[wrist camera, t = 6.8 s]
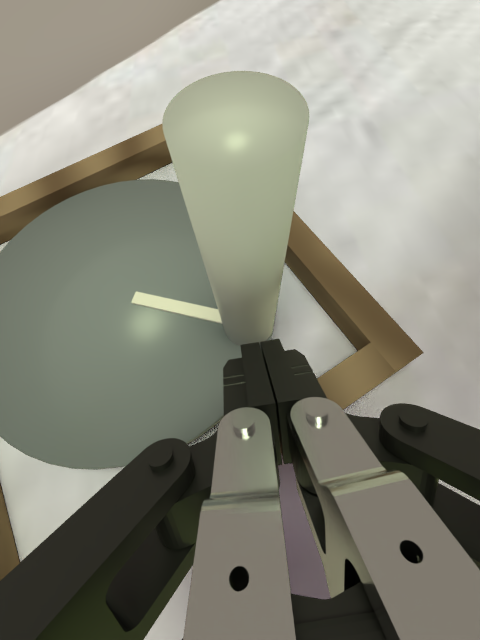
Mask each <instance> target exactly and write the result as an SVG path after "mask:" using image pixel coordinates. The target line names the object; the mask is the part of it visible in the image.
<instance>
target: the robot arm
mask: <svg viewBox="0 0 480 640" xmlns="http://www.w3.org/2000/svg"><path fill="white" fill-rule="evenodd" d="M240 346H241V354H242V358H236V359H229V360H228V361H227V363H226V364H225V366H224V367H223V386H224V387H223V402H224V417H223V418H222V420H221V421H220V423H219V426H218V430H217V431H216V433H214V434H213V435H212V436H211V437H209V438H208V439H206V440H204V441H202V442H199V443H197V444H195V445H193V446H190V447H189V446H188V445H187V444H186V442H184V441H183V440H180V439H177V438H166V439H162V440H159V441H157V442H155V443H153V444H151V445H149V446H148V447H147V448H145V449H144V450H143V451H142V452H141V453H140V454H139V455H138V456H136V457H135V458H134V459H133V460H132V461H131V462H130V463H129V464H128V465H127V466H126V467H124V468H123V469H122V470H121V471H120V472H119V473H118V474H117V475H116V476H115V477H113V478H112V479H111V480H110V481H109V482H108V483H107V484H106V485H105V486H104V487H103V488H101V489H100V490H99V491H98V492H97V493H96V494H95V495H94V496H93V497H92V498H90V499H89V500H88V501H87V502H86V503H85V504H84V505H83V506H82V507H81V508H80V509H78V510H77V511H76V512H75V513H74V514H73V515H72V516H71V517H70V518H69V519H67V520H66V521H65V522H64V523H63V524H62V525H61V526H60V527H59V528H58V529H56V530H55V531H54V532H53V533H52V534H51V535H50V536H49V537H48V538H47V539H46V540H44V541H43V542H42V543H41V544H40V545H39V546H38V547H37V548H36V549H35V550H33V551H32V552H31V553H30V554H29V555H28V556H27V557H26V558H25V559H24V560H23V561H21V562H20V563H19V564H18V565H17V566H16V567H15V568H14V569H13V570H12V571H10V572H9V573H8V574H7V575H6V576H5V577H4V578H3V579H2V580H1V581H0V640H144V638H145V636H146V635H147V633H148V632H149V630H150V629H151V627H152V626H153V624H154V623H155V621H156V620H157V618H158V617H159V615H160V614H161V612H162V611H163V609H164V608H165V606H166V605H167V603H168V602H169V600H170V598H171V597H172V595H173V594H174V592H175V591H176V589H177V588H178V586H179V585H180V583H181V582H182V580H183V579H184V577H185V576H186V574H187V573H188V571H189V570H190V568H191V567H192V565H193V571H192V578H191V585H190V593H189V600H188V607H187V615H186V622H185V629H184V637H183V639H182V640H480V505H478V504H476V503H474V502H472V501H470V500H468V499H467V498H465V497H463V496H461V495H459V494H457V493H456V492H454V491H452V490H450V489H448V488H446V487H445V486H443V485H441V484H439V483H438V481H439V479H440V480H442V481H444V482H445V483H447V484H449V485H451V486H453V487H455V488H457V489H459V490H460V491H462V492H464V493H466V494H468V495H470V496H472V497H474V498H475V499H477V500H479V501H480V430H479V429H477V428H474V427H471V426H469V425H466V424H464V423H461V422H459V421H456V420H453V419H451V418H448V417H446V416H443V415H441V414H438V413H436V412H433V411H430V410H428V409H425V408H423V407H420V406H416V405H412V404H393V405H390V406H388V407H386V408H385V409H384V410H383V411H382V412H381V415H380V418H370V417H359V416H353V415H349V414H347V413H345V412H344V411H343V409H342V408H341V407H340V406H339V405H338V404H337V403H335V402H333V401H331V400H329V399H328V398H327V397H326V395H325V393H324V391H323V389H322V387H321V386H320V384H319V382H318V380H317V378H316V376H315V374H314V373H313V371H312V369H311V367H310V366H309V363H308V361H307V360H306V358H305V356H304V355H303V354H301V353H300V352H298V351H297V350H295V349H294V350H287V351H284V349H283V347H282V344H281V342H280V340H279V339H275V340H268V341H261V342H260V344H259V342H255V343H249V344H242V345H240ZM260 347H261V348H260ZM280 448H281V450H280ZM281 452H282V456H283V461H284V464H288V463H293V467H294V471H295V474H296V486H297V490H298V493H299V496H300V499H301V502H302V505H303V508H304V511H305V514H306V516H307V519H308V522H309V525H310V528H311V531H312V534H313V537H314V539H315V542H316V545H317V548H318V551H319V554H320V557H321V560H322V563H323V567H324V570H325V575H326V580H327V584H328V589H329V593H330V596H331V599H326V600H324V599H317V598H311V597H306V596H300V595H295V594H291V589H290V580H289V572H288V564H287V556H286V547H285V539H284V531H283V522H282V514H281V506H280V497H279V487H280V478H279V470H278V465H282V459H281Z"/></svg>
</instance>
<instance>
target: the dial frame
mask: <svg viewBox="0 0 480 640" xmlns="http://www.w3.org/2000/svg"><path fill="white" fill-rule="evenodd" d="M171 162H172V159H171V156H170V152H169V149H168V146H167V143H166V139H165V136H164V133H163V124H161V125H159V126H156V127H154V128H152V129H150V130H147V131H145V132H143V133H141V134H139V135H136V136H134V137H132V138H130V139H128V140H125V141H123V142H121V143H119V144H116V145H114V146H112V147H110V148H108V149H105V150H103V151H101V152H99V153H97V154H94V155H92V156H90V157H88V158H85V159H83V160H81V161H79V162H77V163H74V164H72V165H70V166H68V167H66V168H63V169H61V170H59V171H57V172H54V173H52V174H50V175H48V176H46V177H43V178H41V179H39V180H37V181H35V182H32V183H30V184H28V185H26V186H23V187H21V188H19V189H17V190H15V191H12V192H10V193H8V194H6V195H4V196H1V197H0V244H2V243H4V242H6V241H8V240H10V239H12V238H13V237H15V236H16V235H17V234H18V233H19V232H20V231H21V230H22V229H23V228H24V227H25V226H26V225H28V224H29V223H30V222H32V221H33V220H34V219H35V218H37V217H38V216H39V215H41V214H42V213H44V212H45V211H47V210H48V209H50V208H52V207H53V206H55V205H57V204H59V203H60V202H62V201H64V200H66V199H68V198H70V197H72V196H75V195H77V194H79V193H82V192H84V191H87V190H90V189H93V188H96V187H99V186H103V185H107V184H112V183H116V182H122V181H130V180H136V179H138V178H140V177H142V176H144V175H146V174H148V173H151V172H153V171H155V170H157V169H159V168H161V167H163V166H165V165H167V164H169V163H171ZM285 263H286V264H287V265H288V266H289V268H290V269H291V270H292V271H293V272H294V274H295V275H296V276H297V277H298V279H299V280H300V281H301V282H302V283H303V285H304V286H305V287H306V288H307V289H308V291H309V292H310V293H311V294H312V296H313V297H314V298H315V299H316V300H317V302H318V303H319V304H320V305H321V306H322V308H323V309H324V310H325V311H326V312H327V314H328V315H329V316H330V317H331V319H332V320H333V321H334V322H335V323H336V325H337V326H338V327H339V328H340V329H341V331H342V332H343V333H344V334H345V336H346V337H347V338H348V339H349V340H350V342H351V343H352V344H353V345H354V346H355V348H356V349H357V350H358V351H357V352H356V353H354V354H353V355H351V356H350V357H348V358H347V359H346V360H344V361H343V362H341V363H340V364H338V365H337V366H335V367H334V368H332V369H331V370H329V371H328V372H326V373H325V374H323V375H322V376H320V377H319V378H317V380H318V382H319V384H320V386H321V387H322V389H323V391H324V393H325V395H326V397H327V398H328V399H329V400H331V401H333V402H335V403H337V404H338V405H339V406H340V407H341V408H342V409H345V408H346V407H348V406H349V405H350V404H352V403H353V402H355V401H356V400H357V399H359V398H360V397H362V396H363V395H365V394H366V393H367V392H369V391H370V390H372V389H373V388H374V387H376V386H377V385H379V384H380V383H381V382H383V381H384V380H386V379H387V378H389V377H390V376H391V375H393V374H394V373H396V372H397V371H398V370H400V369H401V368H403V367H404V366H405V365H407V364H408V363H410V362H411V361H413V360H414V359H415V358H417V357H418V356H420V355H421V354H422V353H423V351H422V350H421V349H420V348H419V347H418V346H417V345H416V344H415V343H414V342H413V341H412V339H411V338H410V337H409V336H408V335H407V334H406V333H405V332H404V331H403V330H402V329H401V327H400V326H399V325H398V324H397V323H396V322H395V321H394V320H393V319H392V318H391V317H390V316H389V314H388V313H387V312H386V311H385V310H384V309H383V308H382V307H381V306H380V305H379V304H378V302H377V301H376V300H375V299H374V298H373V297H372V296H371V295H370V294H369V293H368V292H367V290H366V289H365V288H364V287H363V286H362V285H361V284H360V283H359V282H358V281H357V280H356V278H355V277H354V276H353V275H352V274H351V273H350V272H349V271H348V270H347V269H346V268H345V267H344V265H343V264H342V263H341V262H340V261H339V260H338V259H337V258H336V257H335V256H334V255H333V253H332V252H331V251H330V250H329V249H328V248H327V247H326V246H325V245H324V244H323V243H322V241H321V240H320V239H319V238H318V237H317V236H316V235H315V234H314V233H313V232H312V231H311V229H310V228H309V227H308V226H307V225H306V224H305V223H304V222H303V221H302V220H301V219H300V218H299V216H298V215H297V214H296V213H295V212H294V211H293V216H292V222H291V227H290V233H289V239H288V245H287V251H286V256H285ZM280 450H281V448H280ZM281 453H282V452H281ZM19 563H20V562H19V558H18V554H17V550H16V546H15V542H14V538H13V534H12V529H11V525H10V521H9V517H8V513H7V509H6V505H5V501H4V497H3V493H2V489H1V485H0V581H1V580H2V579H3V578H4V577H5V576H6V575H7V574H8V573H9V572H10V571H12V570H13V569H14V568H15V567H16V566H17V565H18V564H19Z"/></svg>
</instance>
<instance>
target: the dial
mask: <svg viewBox="0 0 480 640" xmlns="http://www.w3.org/2000/svg"><path fill="white" fill-rule="evenodd" d="M308 123H309V109H308V106H307V103H306V101H305V99H304V97H303V96H302V95H301V93H300V92H299V91H298V90H297V89H296V88H295V87H293V86H292V85H291V84H289V83H288V82H286V81H284V80H282V79H280V78H277V77H275V76H272V75H269V74H265V73H260V72H252V71H232V72H224V73H219V74H215V75H211V76H208V77H205V78H203V79H200V80H198V81H196V82H194V83H192V84H190V85H189V86H187V87H185V88H184V89H183V90H181V91H180V92H179V93H178V94H177V95H176V96H175V97H174V98H173V99H172V100H171V102H170V103H169V105H168V106H167V108H166V110H165V113H164V116H163V133H164V136H165V139H166V143H167V146H168V149H169V152H170V156H171V159H172V162H173V165H174V168H175V172H176V175H177V178H178V181H179V183H178V182H173V181H166V180H153V179H150V180H130V181H122V182H116V183H112V184H107V185H103V186H99V187H96V188H93V189H90V190H87V191H84V192H82V193H79V194H77V195H75V196H72V197H70V198H68V199H66V200H64V201H62V202H60V203H59V204H57V205H55V206H53V207H52V208H50V209H48V210H47V211H45V212H44V213H42V214H41V215H39V216H38V217H37V218H35V219H34V220H33V221H32V222H30V223H29V224H28V225H26V226H25V227H24V228H23V229H22V230H21V231H20V232H19V233H18V234H17V235H16V236H15V237H13V238H12V239H11V240H10V242H9V243H8V244H7V245H6V246H5V247H4V248H3V250H2V251H1V252H0V436H1V437H2V438H3V439H4V440H5V441H6V442H7V443H8V444H10V445H11V446H13V447H15V448H16V449H18V450H20V451H21V452H23V453H25V454H26V455H28V456H30V457H33V458H36V459H38V460H41V461H43V462H46V463H49V464H53V465H58V466H63V467H68V468H74V469H106V468H115V467H123V466H127V465H128V464H129V463H130V462H131V461H132V460H133V459H134V458H135V457H136V456H138V455H139V454H140V453H141V452H142V451H143V450H144V449H145V448H147V447H148V446H149V445H151V444H153V443H155V442H157V441H159V440H162V439H166V438H177V439H180V440H183V441H184V442H186V444H188V443H190V442H192V441H193V440H195V439H197V438H199V437H200V436H202V435H203V434H204V433H206V432H207V431H208V430H210V429H211V428H212V427H213V426H215V425H216V424H217V423H219V422H220V421H221V420H222V418H223V417H224V402H223V387H224V386H223V367H224V366H225V364H226V363H227V361H228V360H229V359H236V358H242V354H241V346H240V345H242V344H249V343H255V342H259V344H260V342H261V341H268V340H271V336H272V332H273V326H274V320H275V314H276V309H277V303H278V297H279V291H280V285H281V280H282V274H283V268H284V262H285V256H286V251H287V245H288V239H289V233H290V227H291V222H292V216H293V210H294V204H295V199H296V193H297V187H298V181H299V175H300V170H301V164H302V158H303V152H304V146H305V141H306V135H307V129H308ZM260 348H261V347H260Z"/></svg>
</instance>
